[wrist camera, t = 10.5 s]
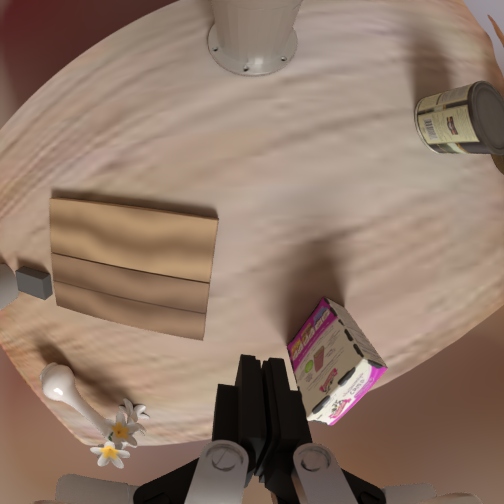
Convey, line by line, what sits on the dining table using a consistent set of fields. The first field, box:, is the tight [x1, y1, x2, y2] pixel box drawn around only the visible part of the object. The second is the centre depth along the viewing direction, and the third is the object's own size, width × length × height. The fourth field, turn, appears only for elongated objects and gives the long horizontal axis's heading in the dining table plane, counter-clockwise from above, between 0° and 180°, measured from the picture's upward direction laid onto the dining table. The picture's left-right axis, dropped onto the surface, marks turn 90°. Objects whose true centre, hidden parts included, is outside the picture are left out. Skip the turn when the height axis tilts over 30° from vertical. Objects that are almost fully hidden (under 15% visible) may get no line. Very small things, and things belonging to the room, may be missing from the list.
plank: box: [50, 197, 219, 282], centre depth 37 cm, size 9×28×2 cm, turn 80°
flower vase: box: [40, 362, 150, 468], centre depth 41 cm, size 13×18×25 cm
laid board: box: [51, 252, 210, 341], centre depth 39 cm, size 10×28×2 cm, turn 80°
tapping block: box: [15, 266, 53, 300], centre depth 38 cm, size 8×4×3 cm, turn 80°
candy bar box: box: [287, 297, 388, 425], centre depth 35 cm, size 11×5×16 cm, turn 150°
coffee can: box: [415, 81, 504, 156], centre depth 27 cm, size 10×10×14 cm
